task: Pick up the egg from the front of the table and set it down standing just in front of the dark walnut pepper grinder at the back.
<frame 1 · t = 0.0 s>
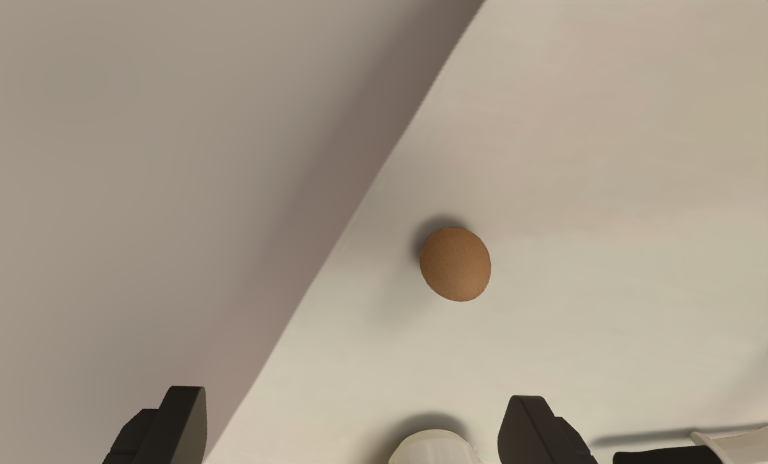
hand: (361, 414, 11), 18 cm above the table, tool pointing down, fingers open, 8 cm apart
knife: (710, 428, 41), on the table
egg: (444, 243, 30), on the table
mug: (416, 452, 37), on the table
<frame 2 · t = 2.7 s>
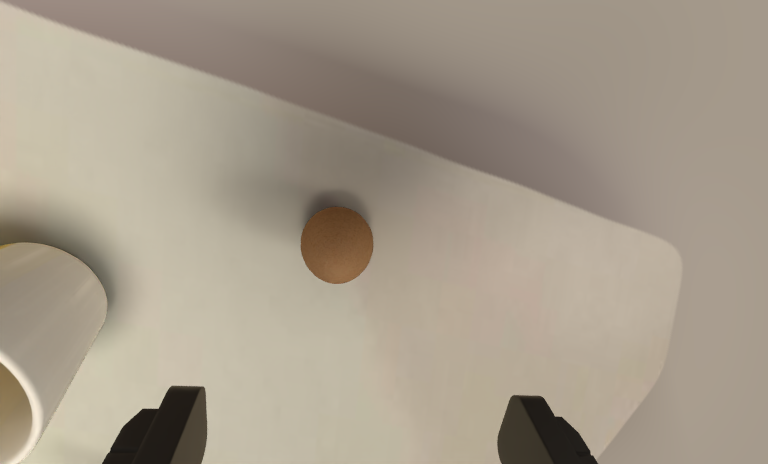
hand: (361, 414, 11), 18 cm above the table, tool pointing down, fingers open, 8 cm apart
egg: (337, 225, 28), on the table
mug: (30, 273, 28), on the table
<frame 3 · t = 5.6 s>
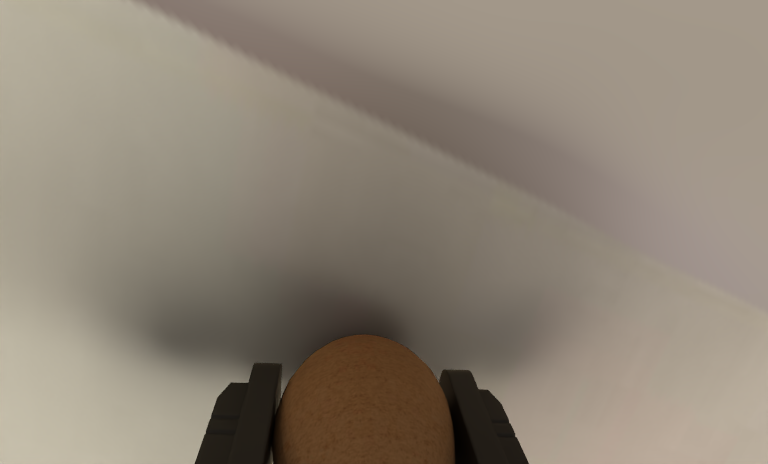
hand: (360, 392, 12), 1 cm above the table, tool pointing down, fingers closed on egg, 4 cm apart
egg: (358, 355, 13), on the table, touching gripper
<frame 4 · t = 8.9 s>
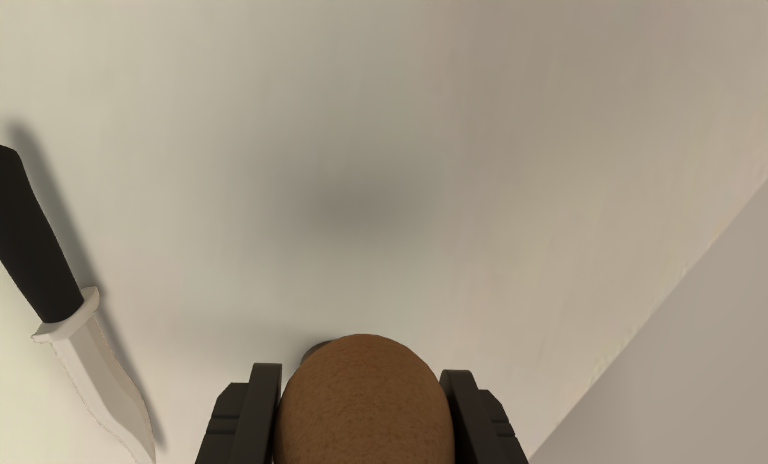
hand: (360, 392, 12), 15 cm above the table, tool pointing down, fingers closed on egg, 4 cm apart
knife: (108, 316, 27), on the table
egg: (358, 354, 13), point 13 cm above the table, touching gripper
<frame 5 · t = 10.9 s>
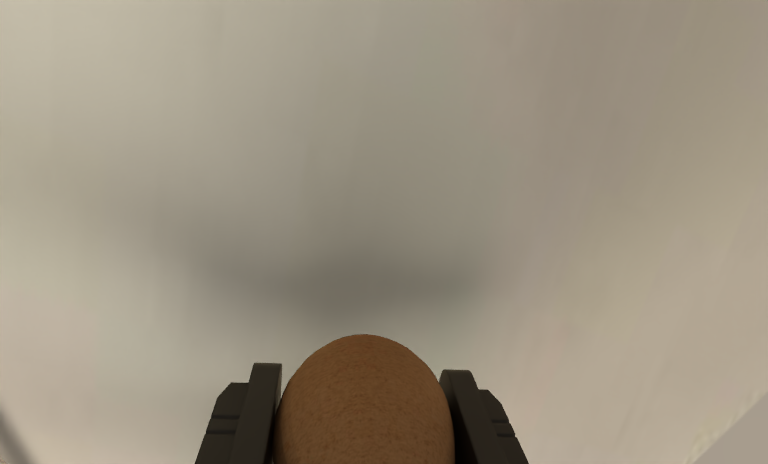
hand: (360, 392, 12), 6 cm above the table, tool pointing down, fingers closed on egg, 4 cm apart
egg: (358, 355, 13), point 4 cm above the table, touching gripper
when the fingers open (1 cm above the table, at t = 12.5 s): egg stays where it is, on the table.
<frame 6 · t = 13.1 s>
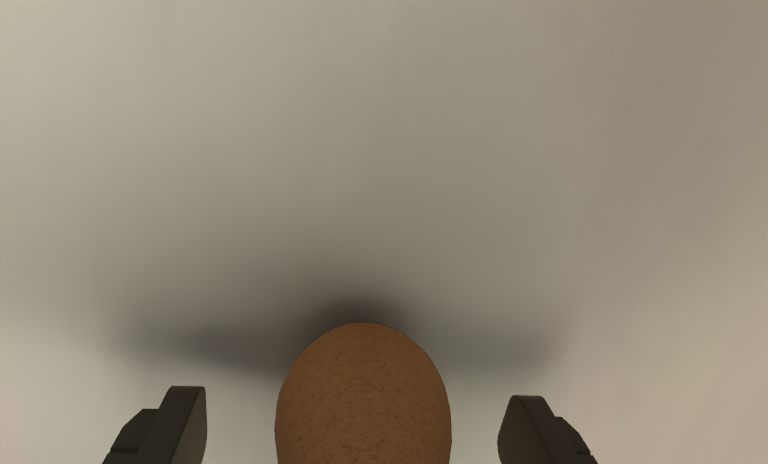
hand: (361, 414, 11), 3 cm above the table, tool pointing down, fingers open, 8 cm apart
egg: (358, 344, 13), on the table
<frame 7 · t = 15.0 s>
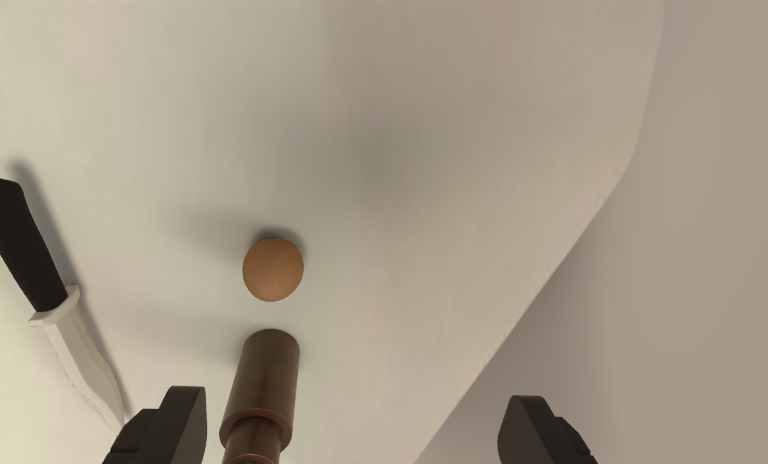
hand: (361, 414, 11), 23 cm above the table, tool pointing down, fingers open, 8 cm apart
knife: (87, 309, 34), on the table
egg: (277, 251, 34), on the table
pepper grinder: (271, 352, 38), on the table
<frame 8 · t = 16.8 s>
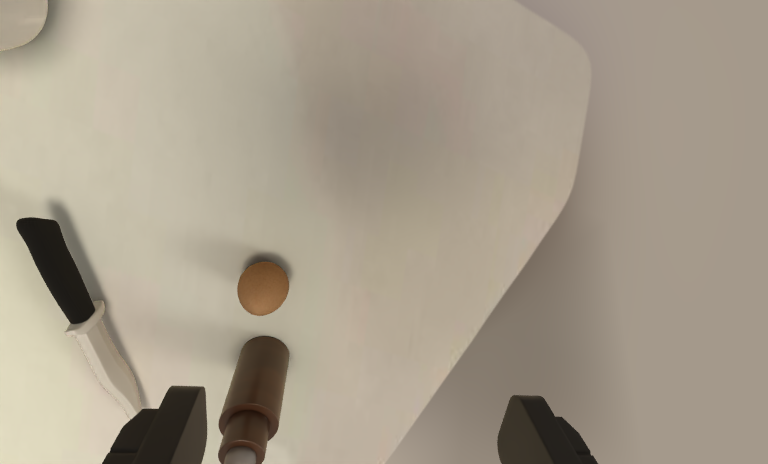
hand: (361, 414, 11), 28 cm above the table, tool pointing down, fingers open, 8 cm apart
knife: (110, 319, 41), on the table
egg: (268, 271, 40), on the table
pepper grinder: (265, 355, 44), on the table
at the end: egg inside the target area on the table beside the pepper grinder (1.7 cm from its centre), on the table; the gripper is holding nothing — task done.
